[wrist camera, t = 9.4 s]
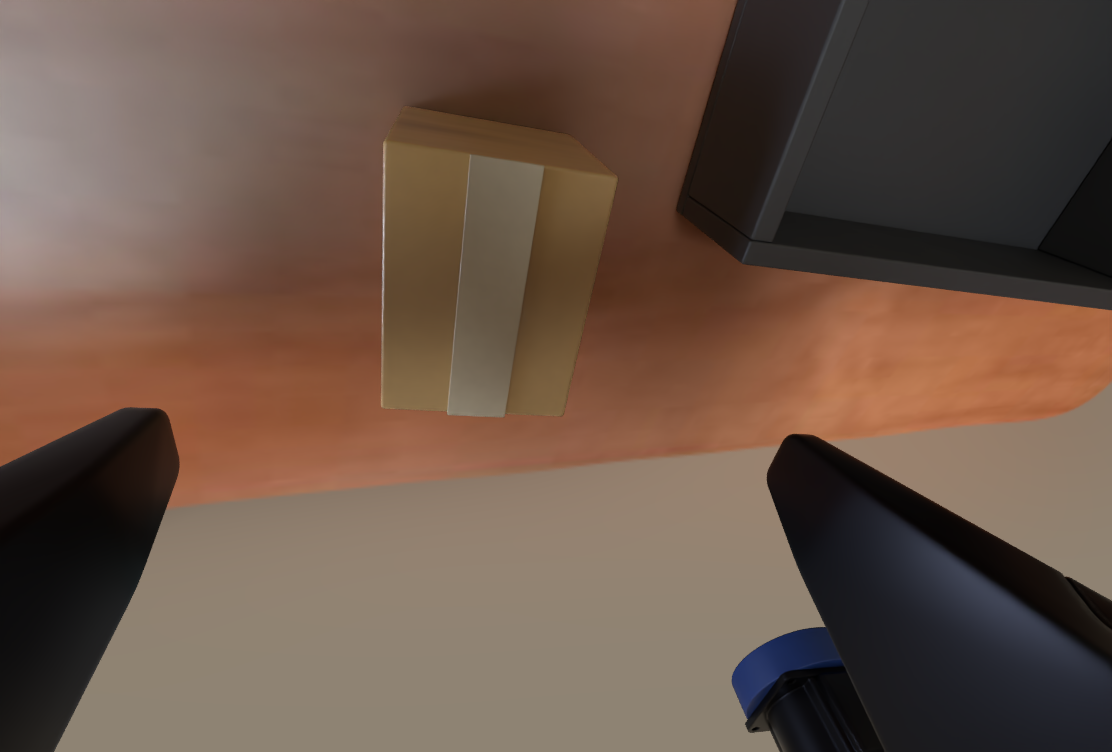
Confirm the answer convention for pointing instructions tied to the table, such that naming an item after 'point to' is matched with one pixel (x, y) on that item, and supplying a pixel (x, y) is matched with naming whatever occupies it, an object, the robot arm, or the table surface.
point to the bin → (915, 144)
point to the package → (486, 263)
